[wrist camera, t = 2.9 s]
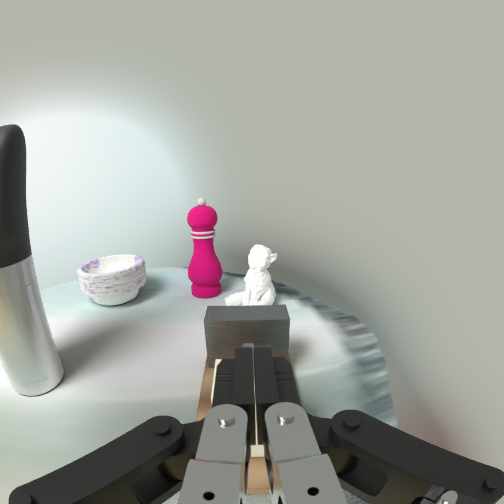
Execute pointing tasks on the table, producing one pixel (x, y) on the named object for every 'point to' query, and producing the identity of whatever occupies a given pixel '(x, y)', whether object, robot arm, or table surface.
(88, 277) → the paper bowls
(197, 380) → the table surface
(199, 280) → the pepper mill
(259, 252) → the white creature statuette
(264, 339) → the grey rectangular block
